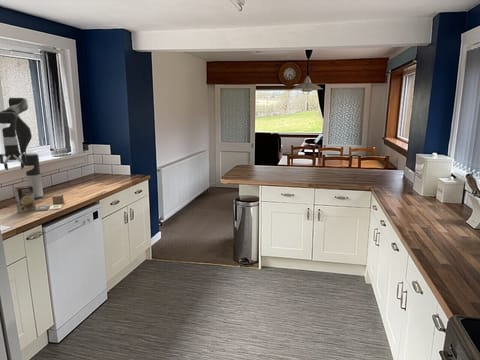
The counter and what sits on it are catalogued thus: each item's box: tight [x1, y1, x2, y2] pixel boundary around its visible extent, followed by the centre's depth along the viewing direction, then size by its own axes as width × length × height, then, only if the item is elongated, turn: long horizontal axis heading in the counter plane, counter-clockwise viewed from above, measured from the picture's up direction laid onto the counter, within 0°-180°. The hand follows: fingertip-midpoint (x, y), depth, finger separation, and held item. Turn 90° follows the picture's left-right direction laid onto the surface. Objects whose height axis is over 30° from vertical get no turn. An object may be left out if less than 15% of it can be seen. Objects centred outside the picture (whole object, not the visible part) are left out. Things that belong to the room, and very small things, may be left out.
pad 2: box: [48, 203, 64, 211], centre depth 241 cm, size 10×7×1 cm
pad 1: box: [34, 204, 51, 213], centre depth 238 cm, size 10×7×1 cm
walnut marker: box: [51, 193, 65, 205], centre depth 251 cm, size 6×6×6 cm
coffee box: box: [14, 185, 37, 214], centre depth 234 cm, size 9×6×16 cm
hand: (14, 169), depth 228 cm, fingers open, 8 cm apart
